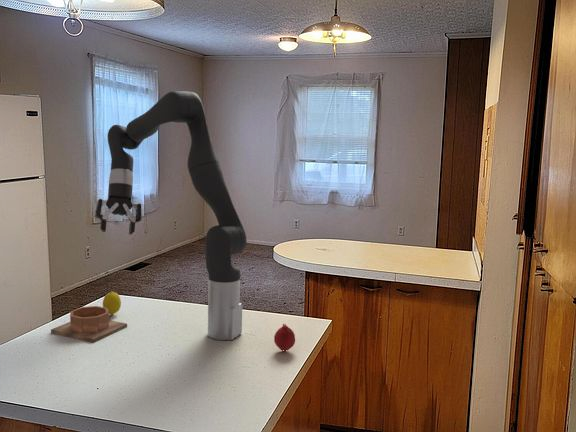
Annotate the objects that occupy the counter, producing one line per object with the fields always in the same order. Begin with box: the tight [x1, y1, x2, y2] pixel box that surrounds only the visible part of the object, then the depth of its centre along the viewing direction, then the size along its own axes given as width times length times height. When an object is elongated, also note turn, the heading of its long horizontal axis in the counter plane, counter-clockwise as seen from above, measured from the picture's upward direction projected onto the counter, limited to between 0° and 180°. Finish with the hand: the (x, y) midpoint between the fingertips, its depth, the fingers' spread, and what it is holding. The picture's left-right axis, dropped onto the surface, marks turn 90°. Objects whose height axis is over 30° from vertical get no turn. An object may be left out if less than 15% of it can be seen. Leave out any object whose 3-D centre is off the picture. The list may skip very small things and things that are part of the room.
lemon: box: [102, 291, 122, 316], centre depth 169 cm, size 6×6×8 cm
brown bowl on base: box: [50, 305, 128, 343], centre depth 156 cm, size 16×14×6 cm
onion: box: [273, 323, 296, 352], centre depth 145 cm, size 6×6×8 cm
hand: (117, 233), depth 170 cm, fingers open, 8 cm apart
